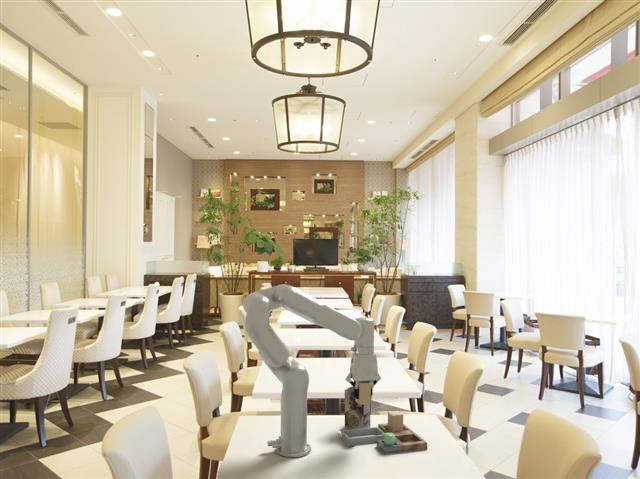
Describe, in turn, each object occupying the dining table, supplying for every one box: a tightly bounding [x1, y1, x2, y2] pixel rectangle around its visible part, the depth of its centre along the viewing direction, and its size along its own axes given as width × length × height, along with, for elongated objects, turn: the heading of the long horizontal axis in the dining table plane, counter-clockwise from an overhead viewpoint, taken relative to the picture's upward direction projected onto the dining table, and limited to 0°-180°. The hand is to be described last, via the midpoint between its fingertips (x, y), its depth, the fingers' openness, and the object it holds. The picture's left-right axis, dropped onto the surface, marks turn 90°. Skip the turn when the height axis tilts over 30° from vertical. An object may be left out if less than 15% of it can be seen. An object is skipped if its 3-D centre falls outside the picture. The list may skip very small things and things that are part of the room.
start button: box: [384, 433, 395, 446], centre depth 177 cm, size 4×4×5 cm
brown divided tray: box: [377, 422, 428, 453], centre depth 187 cm, size 10×22×3 cm, turn 16°
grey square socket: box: [376, 439, 403, 455], centre depth 177 cm, size 7×7×3 cm
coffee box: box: [344, 386, 371, 430], centre depth 199 cm, size 9×6×16 cm
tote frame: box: [340, 426, 384, 448], centre depth 187 cm, size 15×9×3 cm, turn 106°
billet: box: [355, 381, 372, 405], centre depth 187 cm, size 4×4×8 cm
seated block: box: [387, 410, 404, 432], centre depth 192 cm, size 4×4×8 cm
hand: (362, 397), depth 187 cm, fingers closed on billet, 4 cm apart
